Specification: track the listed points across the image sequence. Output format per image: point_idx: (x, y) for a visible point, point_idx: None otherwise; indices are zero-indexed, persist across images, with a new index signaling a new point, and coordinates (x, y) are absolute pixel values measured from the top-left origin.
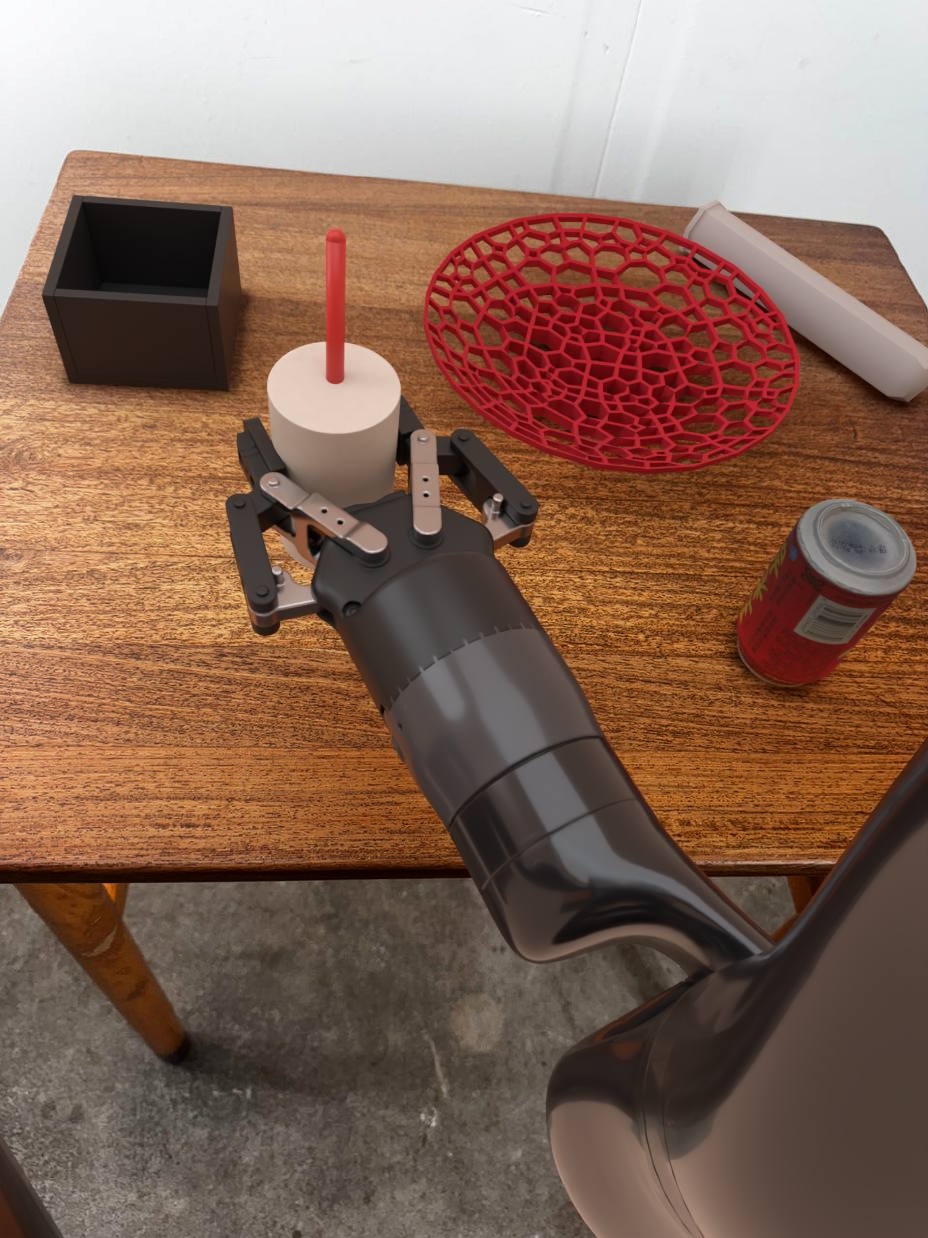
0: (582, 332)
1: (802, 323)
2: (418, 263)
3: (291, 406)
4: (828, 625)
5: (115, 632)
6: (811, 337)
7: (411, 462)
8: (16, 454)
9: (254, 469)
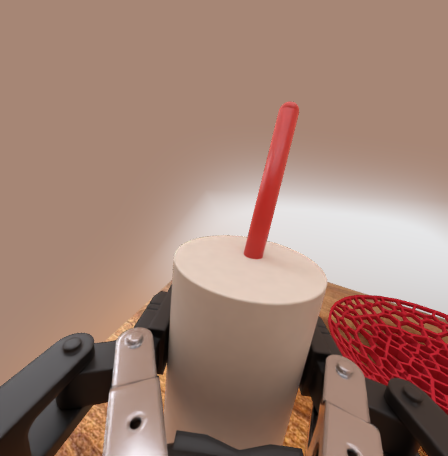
0: (422, 359)
1: None
2: (326, 302)
3: (190, 257)
4: None
5: (88, 422)
6: None
7: (323, 399)
8: (141, 310)
9: (141, 321)
